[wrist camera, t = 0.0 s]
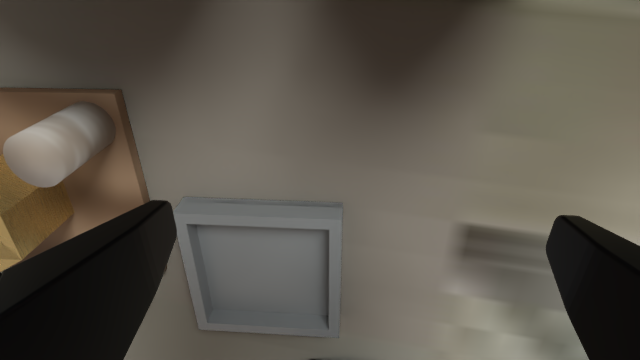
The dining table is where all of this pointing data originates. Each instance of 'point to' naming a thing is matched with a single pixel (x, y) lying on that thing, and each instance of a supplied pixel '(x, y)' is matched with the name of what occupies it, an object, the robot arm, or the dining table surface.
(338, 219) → the tray
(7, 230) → the nut
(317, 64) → the dining table surface
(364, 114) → the dining table surface
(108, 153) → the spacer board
